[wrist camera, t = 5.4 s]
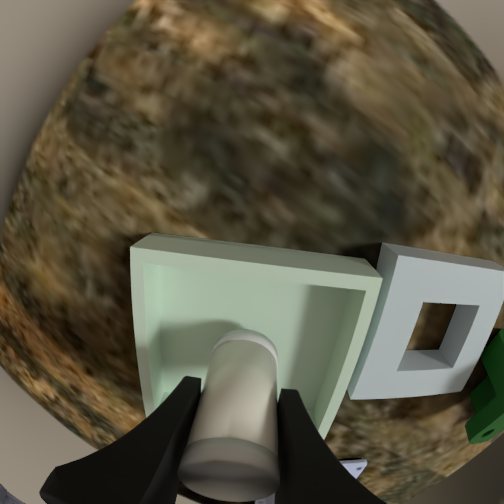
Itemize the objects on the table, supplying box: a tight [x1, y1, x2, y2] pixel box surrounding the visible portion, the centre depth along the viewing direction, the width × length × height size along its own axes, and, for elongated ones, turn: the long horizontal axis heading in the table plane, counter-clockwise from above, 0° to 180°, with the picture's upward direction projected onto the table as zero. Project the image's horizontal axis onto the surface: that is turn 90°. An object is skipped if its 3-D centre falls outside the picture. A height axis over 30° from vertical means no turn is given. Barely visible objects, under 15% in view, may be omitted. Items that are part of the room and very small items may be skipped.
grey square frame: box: [347, 243, 504, 399], centre depth 13 cm, size 8×8×2 cm
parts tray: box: [130, 233, 383, 440], centre depth 14 cm, size 10×10×2 cm
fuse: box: [178, 329, 280, 502], centre depth 10 cm, size 3×3×7 cm
